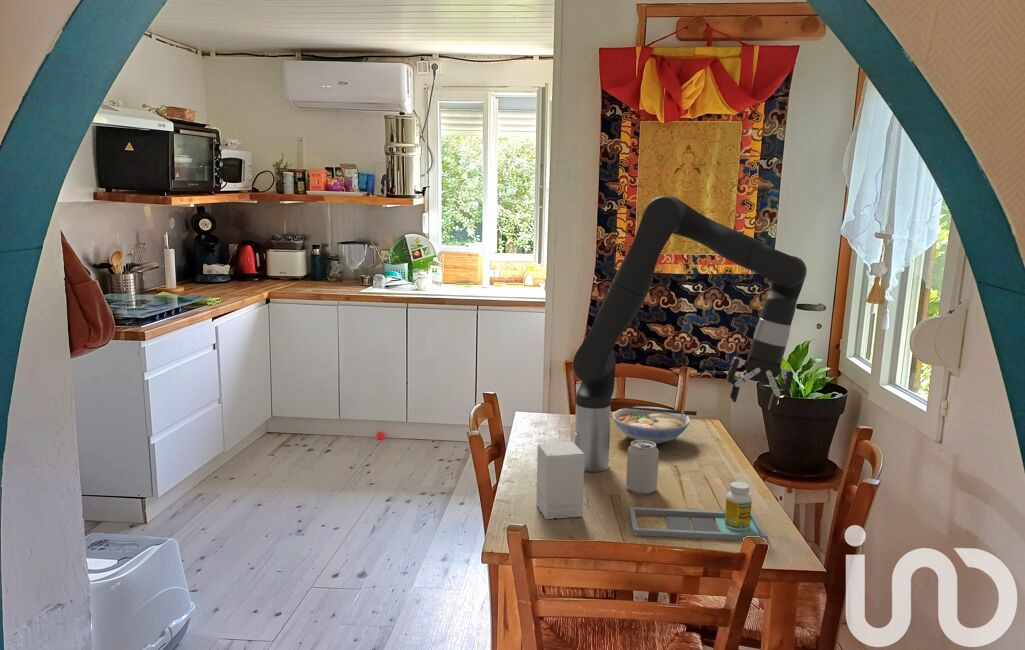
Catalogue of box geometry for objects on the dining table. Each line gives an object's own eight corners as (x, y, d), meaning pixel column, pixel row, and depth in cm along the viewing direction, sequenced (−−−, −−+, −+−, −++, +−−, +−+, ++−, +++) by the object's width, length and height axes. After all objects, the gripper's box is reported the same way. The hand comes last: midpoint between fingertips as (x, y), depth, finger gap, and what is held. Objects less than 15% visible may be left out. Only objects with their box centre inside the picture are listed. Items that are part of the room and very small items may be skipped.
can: (638, 497, 181) (640, 449, 179) (620, 487, 188) (621, 440, 186) (663, 492, 184) (665, 445, 182) (644, 482, 191) (646, 436, 189)
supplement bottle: (735, 519, 169) (738, 478, 167) (755, 528, 164) (758, 486, 163) (719, 524, 166) (721, 483, 164) (738, 533, 161) (741, 491, 160)
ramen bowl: (600, 447, 217) (601, 420, 216) (615, 425, 239) (616, 400, 237) (689, 458, 209) (690, 429, 208) (696, 434, 231) (697, 408, 229)
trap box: (633, 535, 161) (633, 529, 161) (629, 512, 173) (629, 507, 172) (767, 541, 159) (767, 536, 158) (753, 517, 170) (754, 512, 170)
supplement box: (583, 517, 169) (586, 453, 167) (545, 520, 168) (546, 456, 165) (572, 501, 178) (574, 440, 176) (535, 504, 176) (536, 442, 174)
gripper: (741, 336, 172) (723, 402, 176) (804, 350, 171) (785, 417, 174) (737, 330, 180) (720, 394, 183) (797, 344, 178) (779, 408, 181)
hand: (751, 405), depth 178 cm, fingers open, 8 cm apart
